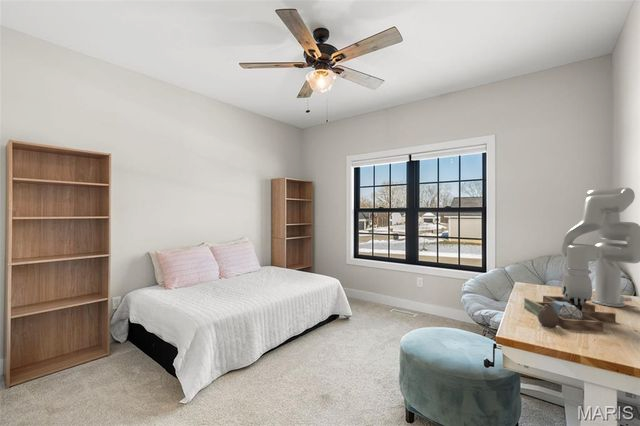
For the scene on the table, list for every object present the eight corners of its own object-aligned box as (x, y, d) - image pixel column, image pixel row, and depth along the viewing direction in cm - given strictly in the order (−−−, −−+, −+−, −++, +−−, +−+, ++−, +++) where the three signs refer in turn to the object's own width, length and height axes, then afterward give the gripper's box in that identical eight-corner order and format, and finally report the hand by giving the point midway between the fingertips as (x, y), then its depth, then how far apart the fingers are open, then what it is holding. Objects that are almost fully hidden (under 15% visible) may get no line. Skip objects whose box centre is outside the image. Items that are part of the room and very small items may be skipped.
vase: (554, 324, 124) (554, 303, 124) (562, 330, 117) (562, 308, 117) (535, 322, 126) (535, 301, 126) (541, 328, 119) (541, 306, 119)
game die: (577, 333, 123) (594, 319, 117) (555, 324, 125) (571, 310, 119) (570, 317, 130) (586, 303, 125) (550, 309, 132) (565, 294, 126)
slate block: (566, 312, 139) (566, 301, 139) (575, 317, 133) (575, 305, 133) (551, 311, 139) (552, 301, 139) (560, 316, 134) (560, 305, 134)
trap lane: (574, 303, 152) (574, 294, 152) (642, 333, 115) (642, 320, 115) (511, 300, 157) (511, 291, 157) (558, 328, 119) (558, 315, 119)
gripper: (589, 271, 138) (589, 311, 138) (554, 270, 140) (553, 309, 140) (602, 275, 130) (601, 316, 130) (564, 273, 132) (564, 314, 132)
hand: (576, 312), depth 135 cm, fingers closed
